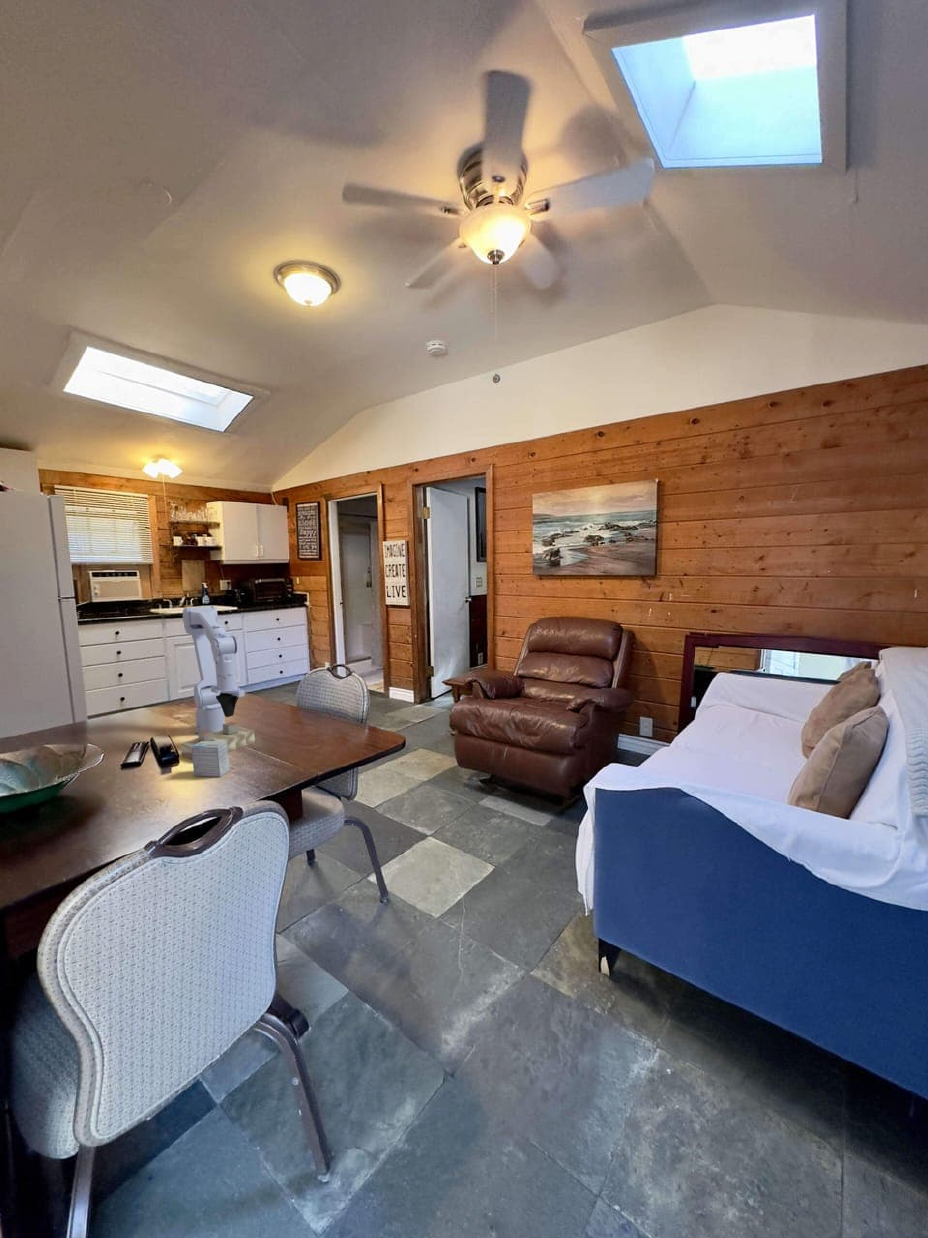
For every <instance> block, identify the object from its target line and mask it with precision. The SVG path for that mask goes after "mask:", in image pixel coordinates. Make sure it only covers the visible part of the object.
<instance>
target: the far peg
mask: <svg viewBox="0 0 928 1238" xmlns="http://www.w3.org/2000/svg"><path fill="white" fill-rule="evenodd" d="M237 726H238V723H237V722H234V721H230V722H225V724H223V734H225V735H232V734H235V733H238V731H237Z"/></svg>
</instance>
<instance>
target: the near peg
mask: <svg viewBox="0 0 928 1238" xmlns="http://www.w3.org/2000/svg"><path fill="white" fill-rule="evenodd" d="M197 735H198V737H197V738H199V742H201V741H214V732H213V731H212V730H209V729H207V730H204V731H200V732H198V733H197Z"/></svg>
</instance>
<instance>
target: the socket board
mask: <svg viewBox="0 0 928 1238" xmlns="http://www.w3.org/2000/svg"><path fill="white" fill-rule="evenodd" d="M237 731H238V733H235V734H232V735H225V734H223V730H220V731H217V732H214V741H222V742H227V748H228V753H230V752H233V751H235V750H238V749H241V748H243V747H246V746H249V745H252V744H254V743H255V742H256V738H255V730H254V729H249V728H245V727H241V726H238V725H237ZM197 743H199V737H197V738H192V739H190V740H187V741H184V742H181V743H180V748H181V756H182V757H183V758H187V759H189V760H192V761H193V757H192V746H194V745H195V744H197Z"/></svg>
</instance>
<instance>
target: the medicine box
mask: <svg viewBox="0 0 928 1238" xmlns="http://www.w3.org/2000/svg"><path fill="white" fill-rule="evenodd" d="M192 757H193V760H192V765H193V766H192V768H193V777H217V778H221V777H222V776H224V775H225V774H226V773H227V772H229V771H230V760H229V752H228V748H227V742H222V741H201V742H199V743H197V744H195V745H194V746H192Z"/></svg>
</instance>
